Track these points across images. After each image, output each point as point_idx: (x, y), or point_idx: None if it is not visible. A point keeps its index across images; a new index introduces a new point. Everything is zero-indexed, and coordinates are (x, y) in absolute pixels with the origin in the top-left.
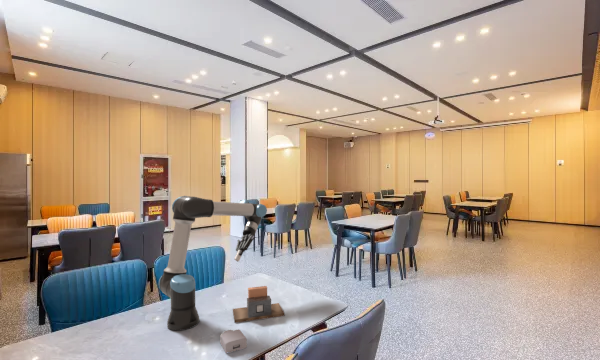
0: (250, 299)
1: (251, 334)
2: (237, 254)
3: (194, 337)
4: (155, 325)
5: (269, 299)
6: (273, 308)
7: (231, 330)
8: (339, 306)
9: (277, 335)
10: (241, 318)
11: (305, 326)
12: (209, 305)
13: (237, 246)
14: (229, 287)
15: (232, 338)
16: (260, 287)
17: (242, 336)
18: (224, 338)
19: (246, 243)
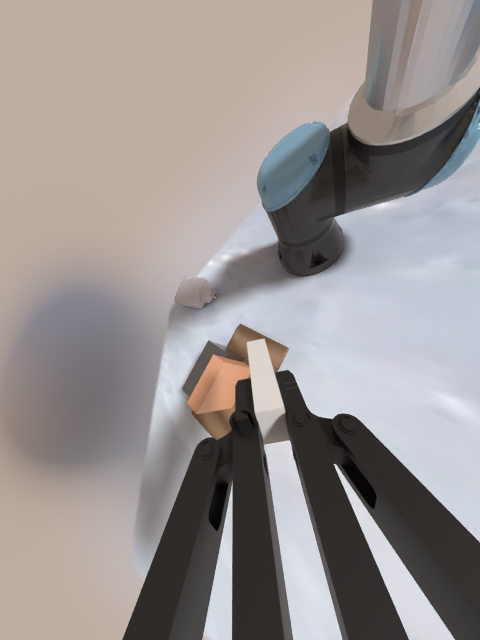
0: (215, 354)
1: (197, 326)
2: (253, 363)
3: (249, 259)
4: None
5: (185, 386)
6: (219, 417)
7: (206, 297)
8: (135, 540)
9: (171, 352)
10: (234, 335)
11: (155, 402)
12: (379, 321)
13: (406, 502)
14: None
15: (183, 285)
16: (200, 390)
17: (178, 297)
18: (191, 278)
19: (168, 534)
